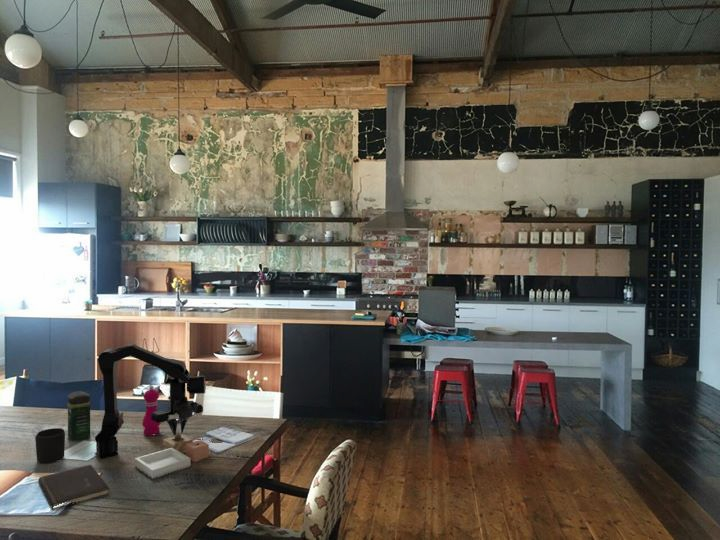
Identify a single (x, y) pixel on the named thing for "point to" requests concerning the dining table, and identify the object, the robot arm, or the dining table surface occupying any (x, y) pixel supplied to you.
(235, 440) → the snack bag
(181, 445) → the oak block
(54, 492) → the hardcover book
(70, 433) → the coffee jar
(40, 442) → the pen holder
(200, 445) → the rust block
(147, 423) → the pepper mill
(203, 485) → the dining table surface
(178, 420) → the cylinder
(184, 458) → the tray
